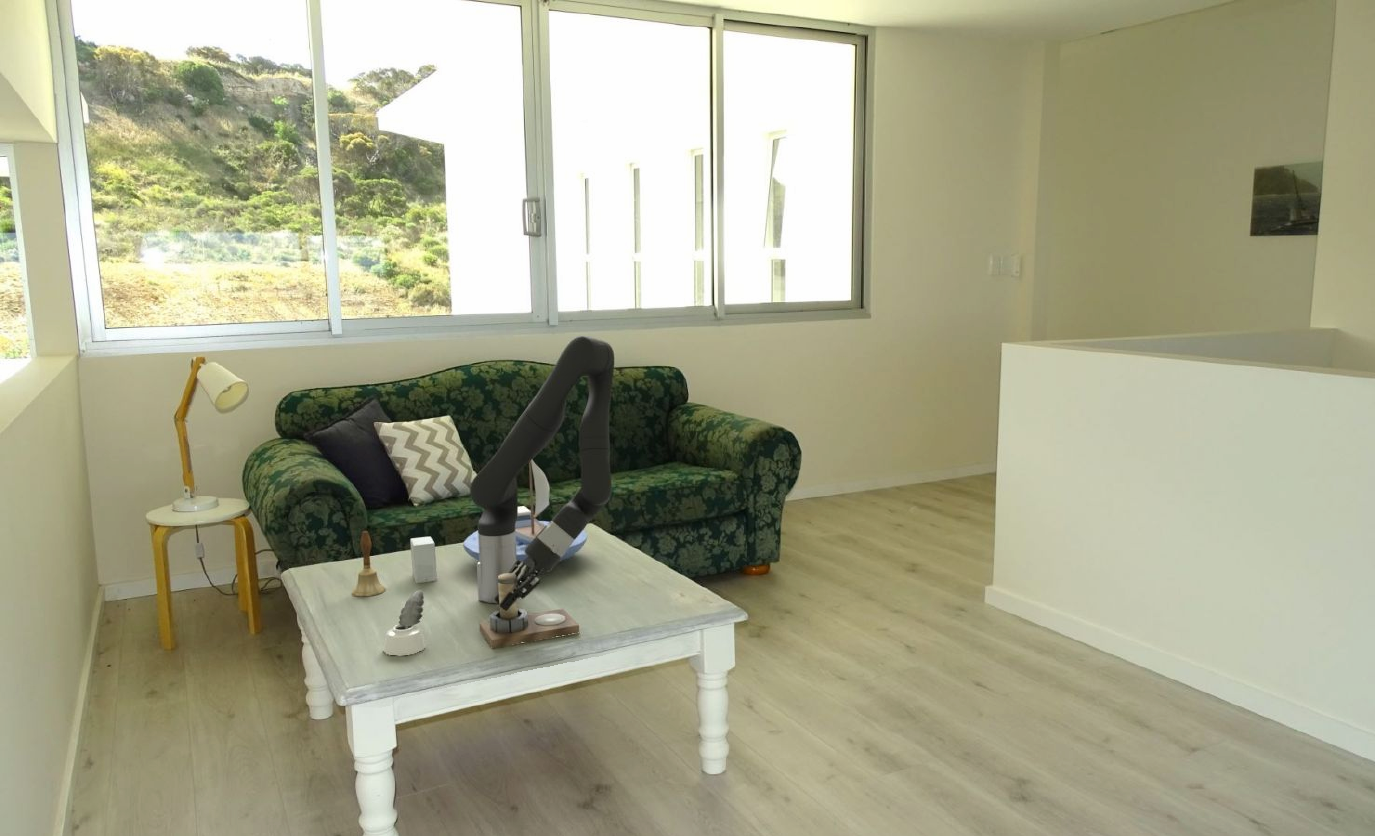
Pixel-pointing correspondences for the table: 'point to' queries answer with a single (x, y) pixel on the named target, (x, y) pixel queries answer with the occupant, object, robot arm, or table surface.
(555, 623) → the rest disc
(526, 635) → the walnut board
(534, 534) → the sailboat
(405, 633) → the inkwell
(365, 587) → the hand bell
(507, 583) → the wooden peg
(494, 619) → the ring
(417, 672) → the table surface
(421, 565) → the small box
